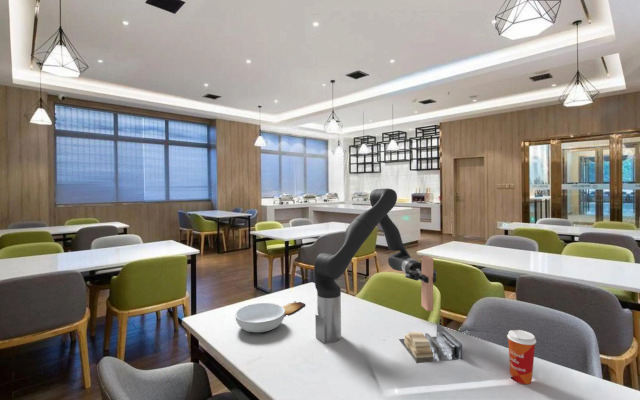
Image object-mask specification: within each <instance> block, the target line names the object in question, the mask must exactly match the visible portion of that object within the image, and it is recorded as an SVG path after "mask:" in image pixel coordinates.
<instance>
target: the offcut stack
mask: <svg viewBox="0 0 640 400" xmlns="http://www.w3.org/2000/svg"><path fill="white" fill-rule="evenodd" d="M403 339H404V343H405V344H406V345H407V347H408V348H409V349H410V351H411V352H412V353H413V354H414V356H415V357H416V358H423V357H433V351H432V350H431V349H430V344H429V341H428V340H427V339H426V337H425V334H424V333H423V332H422V331H410V332H409V331H408V334H404V338H403Z"/></svg>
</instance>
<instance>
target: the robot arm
mask: <svg viewBox="0 0 640 400" xmlns="http://www.w3.org/2000/svg"><path fill="white" fill-rule="evenodd" d="M397 201H398V194H397V192H396V190H395V189H392V188H376V189H373V190H371V192H370V194H369V203H370V205H371V207H370V208H369V209H367V210H365V211H364V212H362V213H361V214H359V215H357V216H356V217H355V218H354V219H353V220H352V221H351V223H349V225H348V226H347V228H346V230H345V234H344V241H343V244H342V246H341V247H340V248H339V250H338V251H337V252H336V253H335V254H332V253H327V252H321V253H319V254H318V255H317V256H316V257H315V260H314V264H313V270H314V271H313V273H314V286H315V289H316V296H317V298H316V299H317V301H316V302H317V307H316V308H317V313H315V317H314V318H315V338H316V339H317V340H318V341H320V342H322V343H323V344H327V343H336V342H338V341H340V340H341V339H342V305H341V304H342V298H341V297H342V292H341V291H342V289H341V287H340V285H338V284H337V282H336V281H335V280H337V279H340V278H341V277H342V276H343V275H344V273H345V271H346V270H347V269H348V267H349V265H350V264H351V262H352V260H353V259H354V257H355V255H356V254H357V252H358V251H359V250H360V248H361V247H362V246H363V244H364V243H365V242H366V241H367V239H368V238H369V236H370V235H371V234H372V233H373V231H374V229H375V228H376V227H377V226H378V224H379V225H380V227H381V229H382V231H383V234H384V237H385V238H384V239H385V242H386V244H387V247H388V250H389V251H391V252H395V253H393V254H391V255H390V256H388V258H387V262H388V266H389V267H390V268H391V269H392V270H394V271H399V272H402V273H404V275H405V276H404V277H405V278H407V279H409V280H413V281H420V282H421V281H424V282H426V283H429V278H428V277H427V276H425V275H423V274H422V262H420V261H418V260H416V259H415V258H412V257H411V256H410V254H409V252H408V251H407V249H406V247H405V245H404V243H403V240H402V237H401V233H400V230H399V229H398V226H396V224H395V223H394V222H393V220H392V219H391V218H390V216H389V215H388V214H389V213H390V211H392V209H393V208H394V207H395V206H396V203H397ZM396 251H398V252H396ZM436 282H437V269H433V284H435V283H436Z"/></svg>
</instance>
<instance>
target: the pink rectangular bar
mask: <svg viewBox="0 0 640 400" xmlns="http://www.w3.org/2000/svg"><path fill="white" fill-rule="evenodd" d="M421 263H422V274H423V275H425V276H427V277H428V278H429V283H426V282H424V281H420V282H421V286H420V288H421V298H420V299H421V302H420V304H421V305H420V307H422V309H425V311H427V312H433V311H434V283H433V270H434V258H433V257H431V256H429V255H421Z"/></svg>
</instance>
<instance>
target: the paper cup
mask: <svg viewBox="0 0 640 400" xmlns="http://www.w3.org/2000/svg"><path fill="white" fill-rule="evenodd" d="M506 338H507V340H508V341H507V342H508V359H509V360H508V361H509V374H510V379H511V380H512V381H514V382H515V383H518V384H520V385H530V384H531V383H532V381H533V372H534V371H533V369H534V361H535V360H534V359H535V350H536V348H535V347H536V346H535V345H536V343H537V339H536V336H535V335H534V334H533V333H531V332H529V331H525V330H522V329H513V330H512V329H511V330H509V331H508V334H506Z"/></svg>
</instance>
